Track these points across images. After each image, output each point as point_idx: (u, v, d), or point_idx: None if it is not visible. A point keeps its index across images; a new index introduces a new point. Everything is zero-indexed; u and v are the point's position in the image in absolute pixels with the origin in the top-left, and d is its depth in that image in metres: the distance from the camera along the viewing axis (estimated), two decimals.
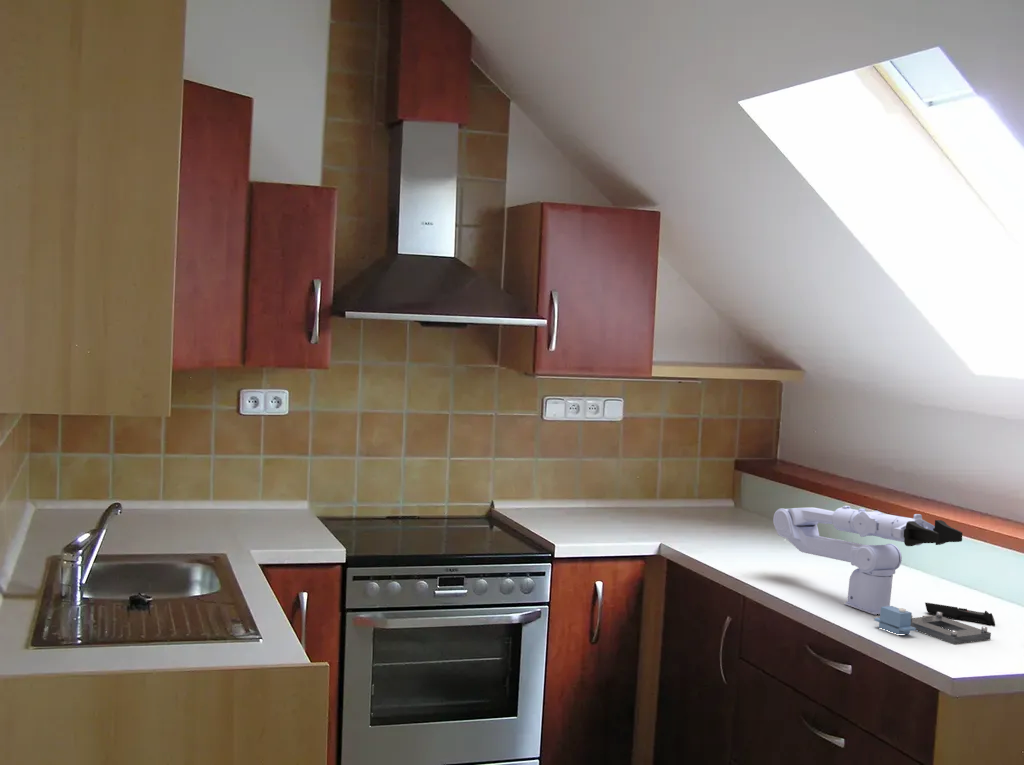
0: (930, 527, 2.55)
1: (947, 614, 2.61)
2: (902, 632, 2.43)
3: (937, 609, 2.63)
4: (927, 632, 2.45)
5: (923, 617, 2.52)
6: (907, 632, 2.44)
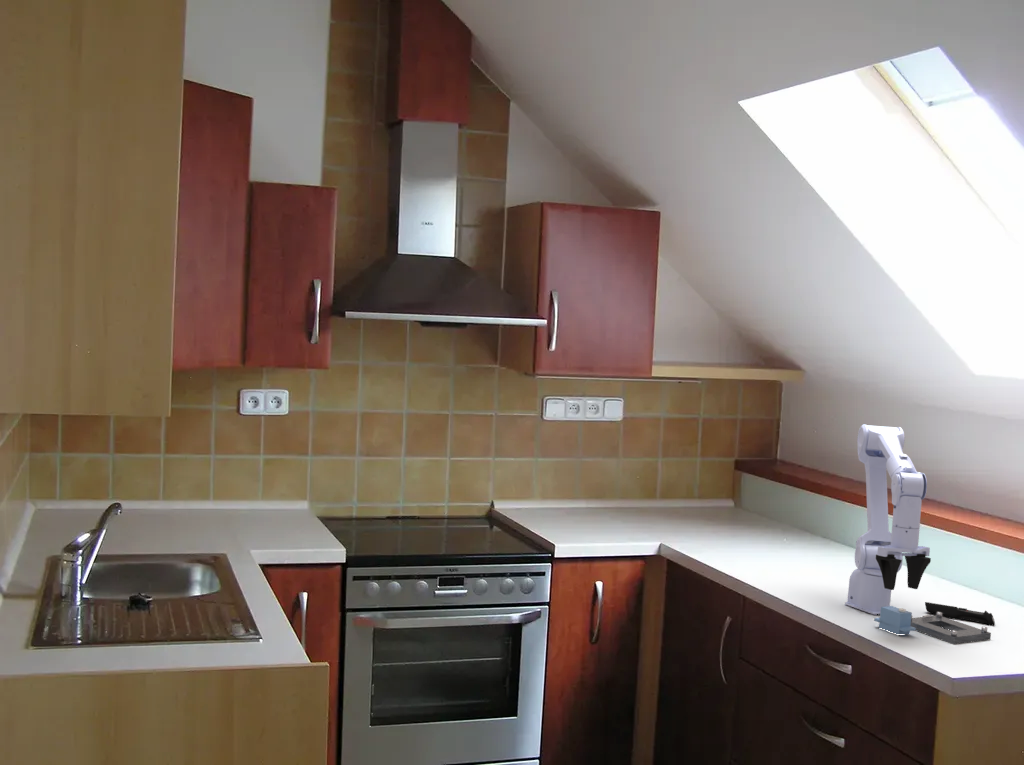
0: None
1: (947, 614, 2.61)
2: (902, 632, 2.43)
3: (936, 609, 2.63)
4: (927, 632, 2.45)
5: (923, 617, 2.52)
6: (907, 632, 2.44)
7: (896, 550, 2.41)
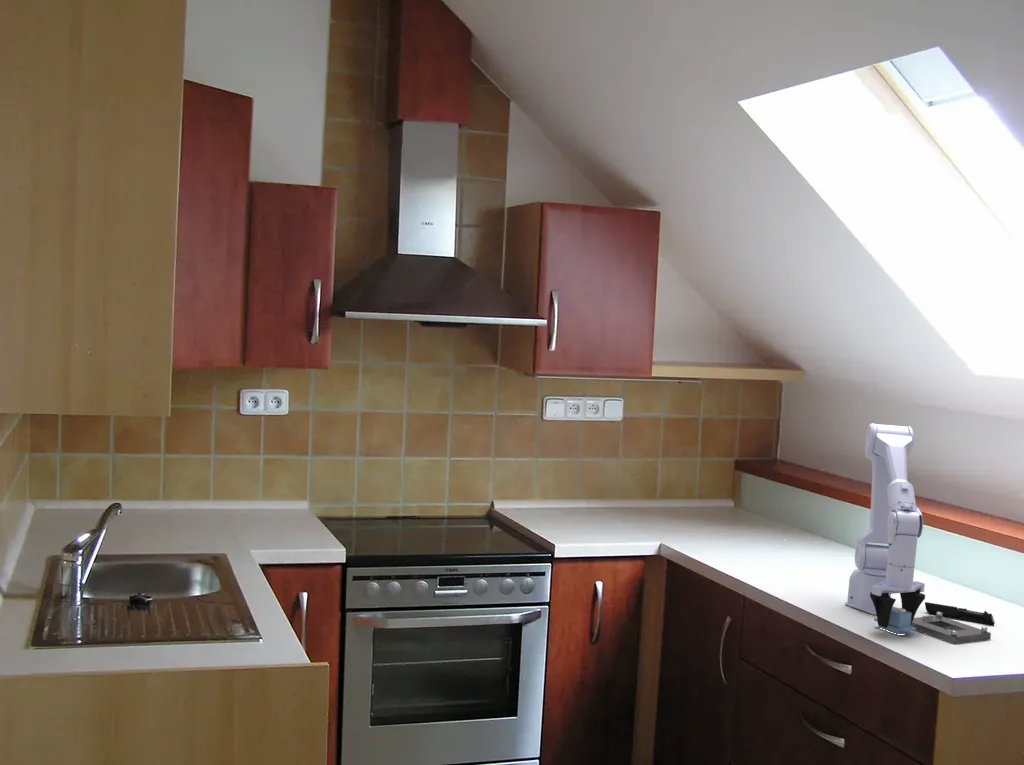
0: None
1: (946, 614, 2.62)
2: (902, 632, 2.43)
3: (936, 609, 2.63)
4: (927, 632, 2.45)
5: (923, 617, 2.52)
6: (907, 632, 2.44)
7: (890, 589, 2.42)
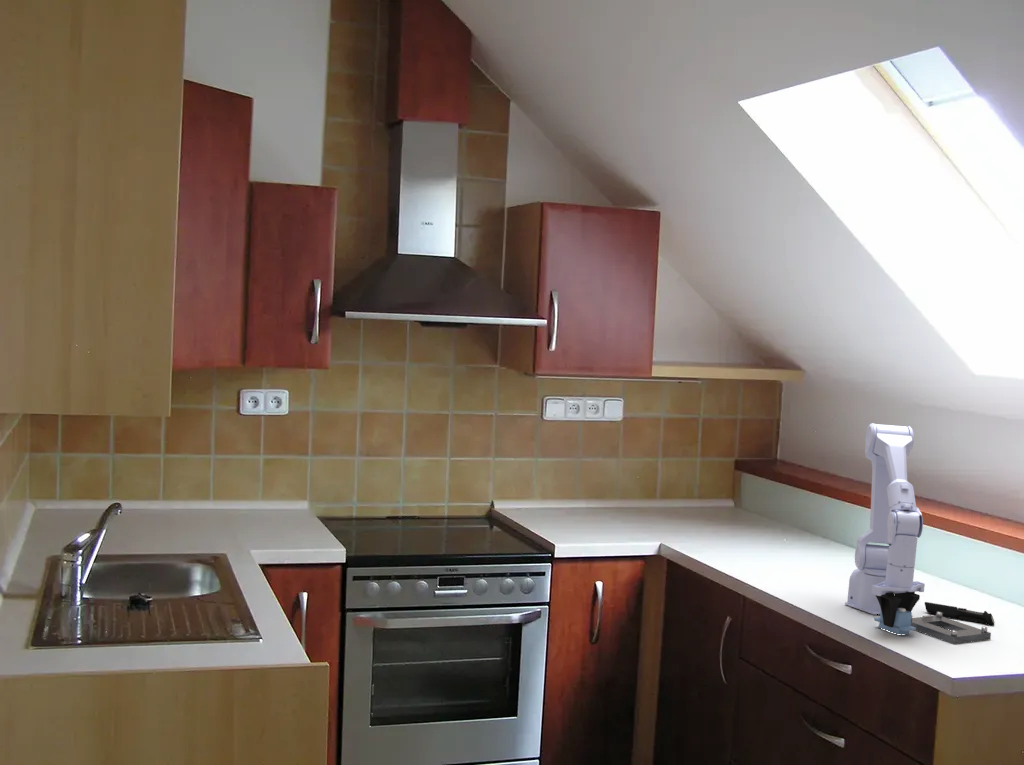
0: None
1: (946, 614, 2.62)
2: (902, 632, 2.43)
3: (936, 609, 2.63)
4: (927, 632, 2.45)
5: (923, 617, 2.52)
6: (907, 632, 2.44)
7: (890, 589, 2.42)
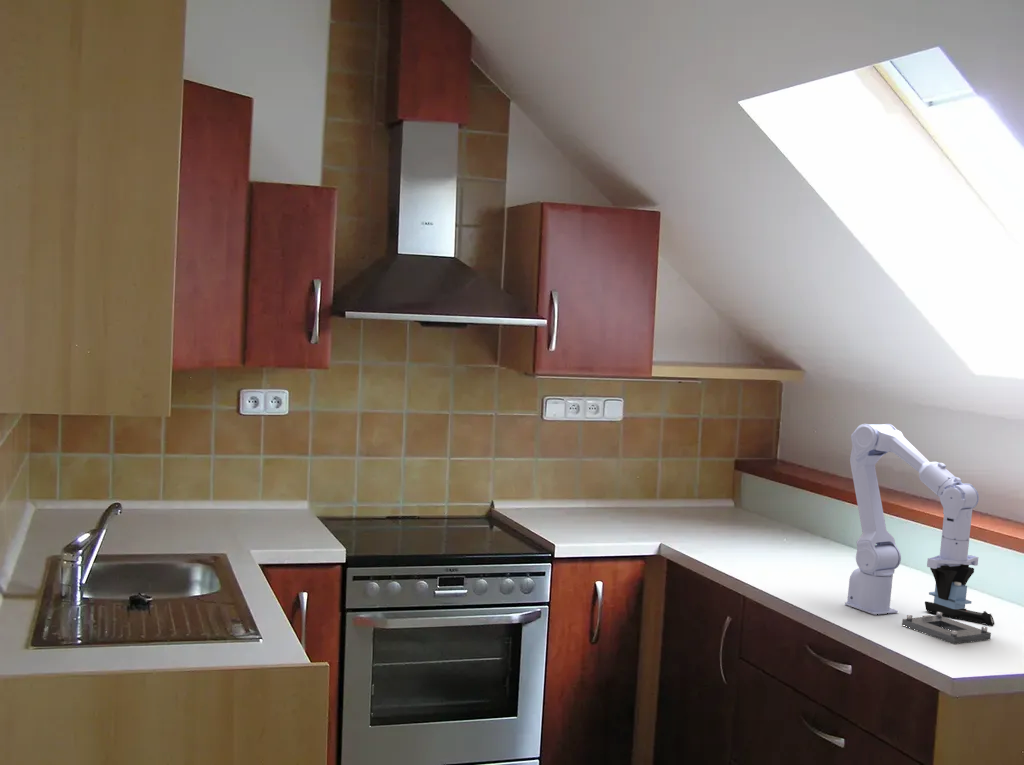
0: None
1: (946, 613, 2.62)
2: (958, 605, 2.45)
3: (935, 608, 2.64)
4: (927, 632, 2.45)
5: (923, 617, 2.52)
6: (963, 605, 2.46)
7: (946, 562, 2.44)
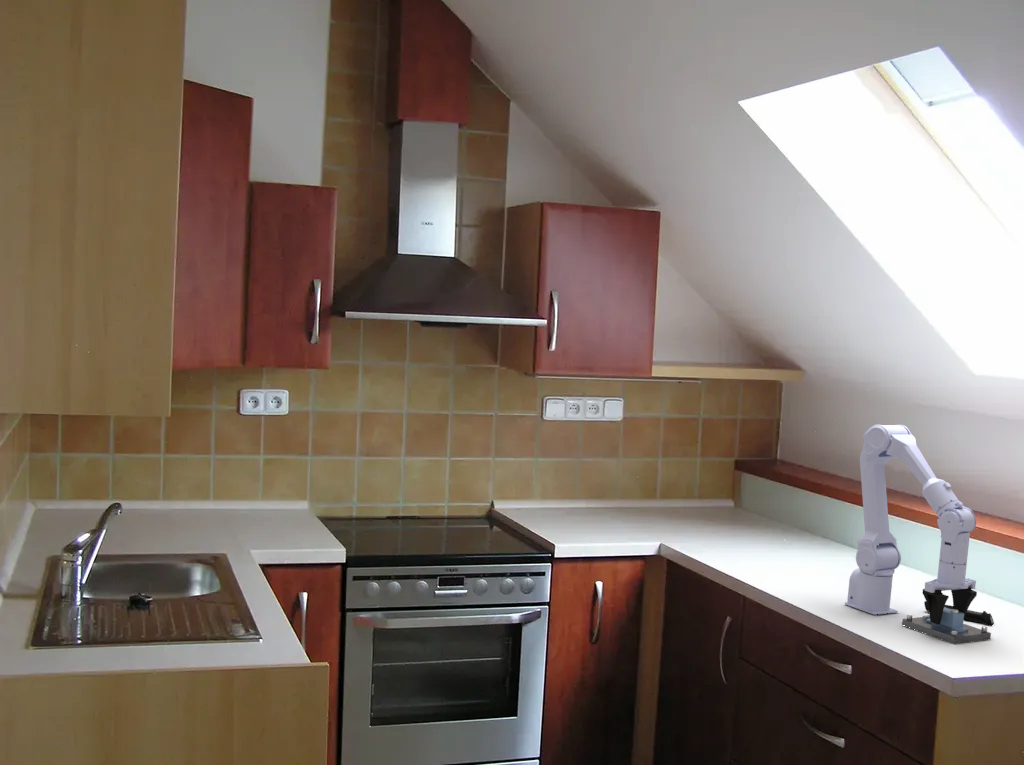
0: None
1: None
2: None
3: None
4: (927, 632, 2.45)
5: (923, 617, 2.52)
6: None
7: (943, 586, 2.44)
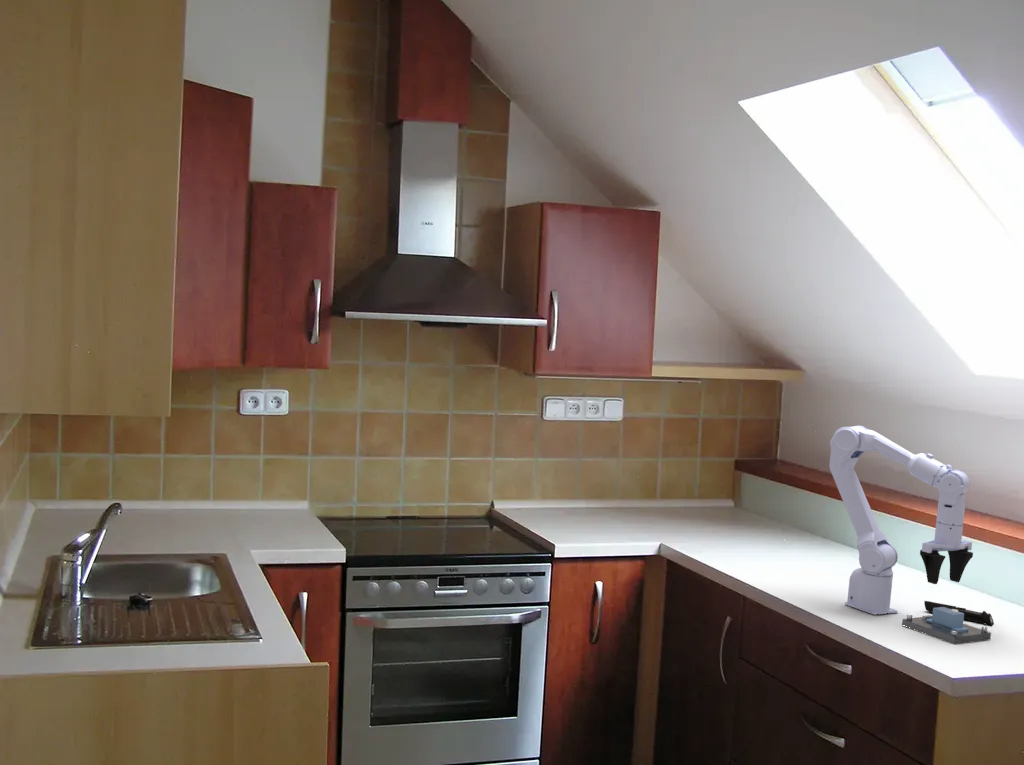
0: None
1: None
2: None
3: None
4: (927, 632, 2.45)
5: (923, 617, 2.52)
6: None
7: (940, 546, 2.50)
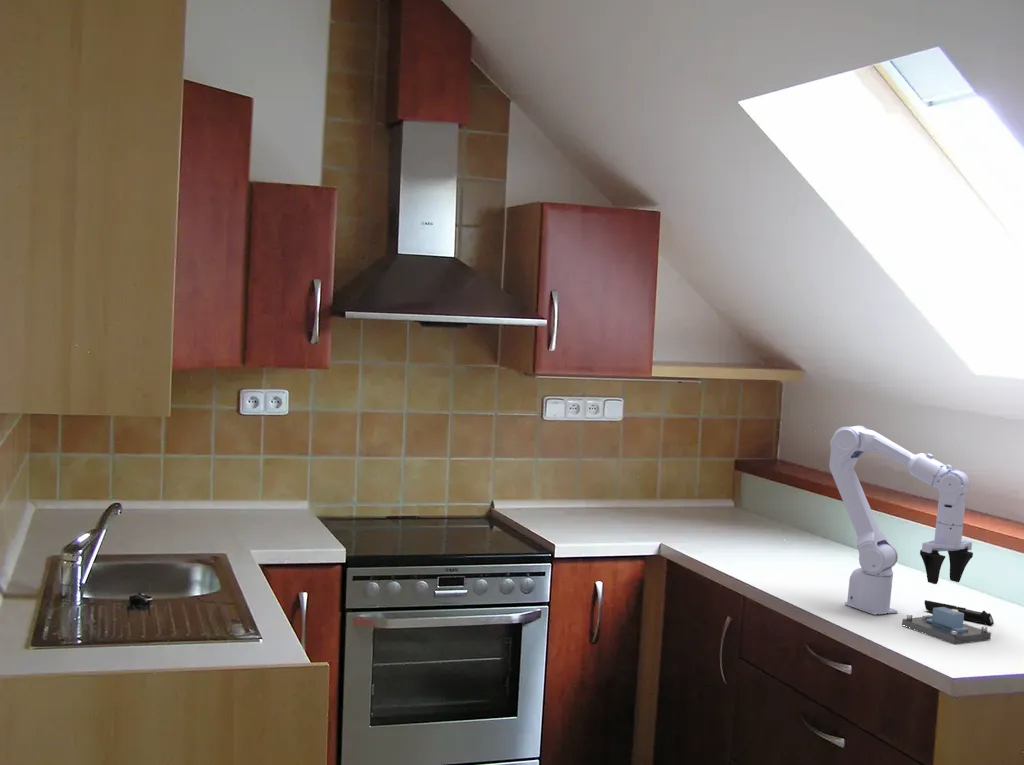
0: None
1: None
2: None
3: (935, 607, 2.64)
4: (927, 632, 2.45)
5: (923, 617, 2.52)
6: None
7: (940, 546, 2.50)
